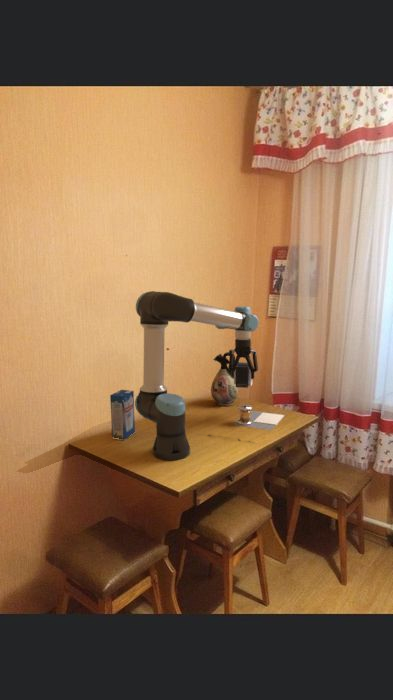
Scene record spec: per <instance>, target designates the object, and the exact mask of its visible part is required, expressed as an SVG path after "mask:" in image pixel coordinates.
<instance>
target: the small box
mask: <svg viewBox="0 0 393 700" xmlns="http://www.w3.org/2000/svg"><path fill="white" fill-rule="evenodd" d="M235 371H236V387H238V388H243V389H245V388H246V389H248V388H249V387H250V386H249V373H250V372H251V371H250V368H249V366H248V363H247V362H244V361H243V362H240V361H239V362H238V364H237V365H236V370H235Z"/></svg>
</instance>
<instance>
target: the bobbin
mask: <svg viewBox="0 0 393 700" xmlns="http://www.w3.org/2000/svg"><path fill="white" fill-rule="evenodd" d="M237 410H239V411H238V412H239V415H238V417H239V418H238V419H239V420H238V419H237V420H238V424H240V425H251V424H252V420H250V410H251V411H253V406H252V405H251V404H238V405H237Z"/></svg>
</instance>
